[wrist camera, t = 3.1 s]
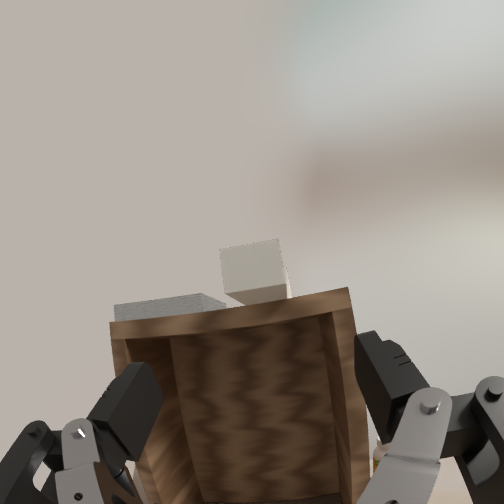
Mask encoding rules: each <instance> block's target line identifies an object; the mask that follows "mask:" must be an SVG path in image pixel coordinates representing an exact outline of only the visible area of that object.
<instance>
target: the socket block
mask: <svg viewBox="0 0 504 504" xmlns="http://www.w3.org/2000/svg"><path fill="white" fill-rule="evenodd" d="M220 309H227V307H226V303H223V302H221V301H218V300H216V299H214V298H211V297H209V296H206V295H204V294H202V293H198V294H191V295H185V296H178V297H171V298H164V299H157V300H149V301H142V302H134V303H126V304H119V305H114V312H115V313H114V314H115V322H116V321H127V320H138V319H148V318H157V317H166V316H174V315H183V314H191V313H198V312H206V311H213V310H220Z"/></svg>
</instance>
